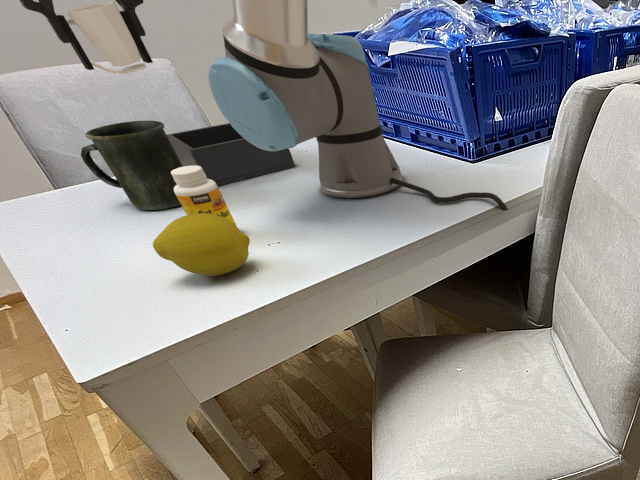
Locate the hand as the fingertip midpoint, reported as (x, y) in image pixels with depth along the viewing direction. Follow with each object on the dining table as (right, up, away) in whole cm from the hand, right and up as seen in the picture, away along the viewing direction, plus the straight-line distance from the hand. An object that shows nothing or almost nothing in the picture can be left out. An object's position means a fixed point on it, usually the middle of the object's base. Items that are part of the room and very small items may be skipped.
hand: (119, 65), depth 73 cm
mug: (-2, -18, +10) cm, 21 cm away
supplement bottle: (+18, -29, -2) cm, 35 cm away
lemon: (+24, -37, -10) cm, 45 cm away
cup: (0, -1, +1) cm, 1 cm away
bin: (+4, -5, +24) cm, 24 cm away
